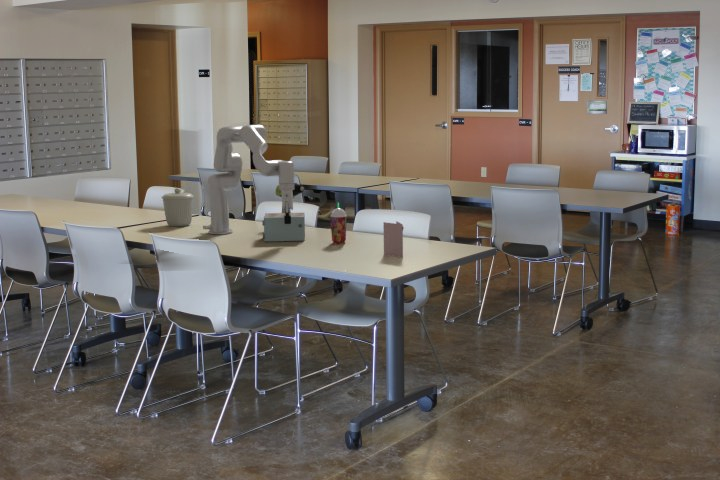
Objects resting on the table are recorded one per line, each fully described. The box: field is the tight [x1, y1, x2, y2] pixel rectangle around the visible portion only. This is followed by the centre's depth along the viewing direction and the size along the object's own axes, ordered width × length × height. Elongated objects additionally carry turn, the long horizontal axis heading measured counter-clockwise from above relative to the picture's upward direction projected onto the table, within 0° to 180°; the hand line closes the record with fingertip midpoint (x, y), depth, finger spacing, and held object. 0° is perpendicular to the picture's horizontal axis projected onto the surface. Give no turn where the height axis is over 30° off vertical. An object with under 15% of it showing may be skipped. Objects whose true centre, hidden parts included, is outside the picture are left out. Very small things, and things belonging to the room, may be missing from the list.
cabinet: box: [263, 212, 306, 242], centre depth 481 cm, size 20×16×12 cm
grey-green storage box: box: [262, 216, 306, 242], centre depth 471 cm, size 21×3×12 cm, turn 93°
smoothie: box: [329, 202, 348, 245], centre depth 464 cm, size 8×8×20 cm
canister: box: [161, 187, 195, 228], centre depth 529 cm, size 18×18×21 cm
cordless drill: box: [274, 182, 305, 213], centre depth 512 cm, size 23×7×25 cm, turn 40°
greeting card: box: [383, 220, 405, 258], centre depth 429 cm, size 11×7×15 cm, turn 12°
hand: (287, 223), depth 465 cm, fingers closed
